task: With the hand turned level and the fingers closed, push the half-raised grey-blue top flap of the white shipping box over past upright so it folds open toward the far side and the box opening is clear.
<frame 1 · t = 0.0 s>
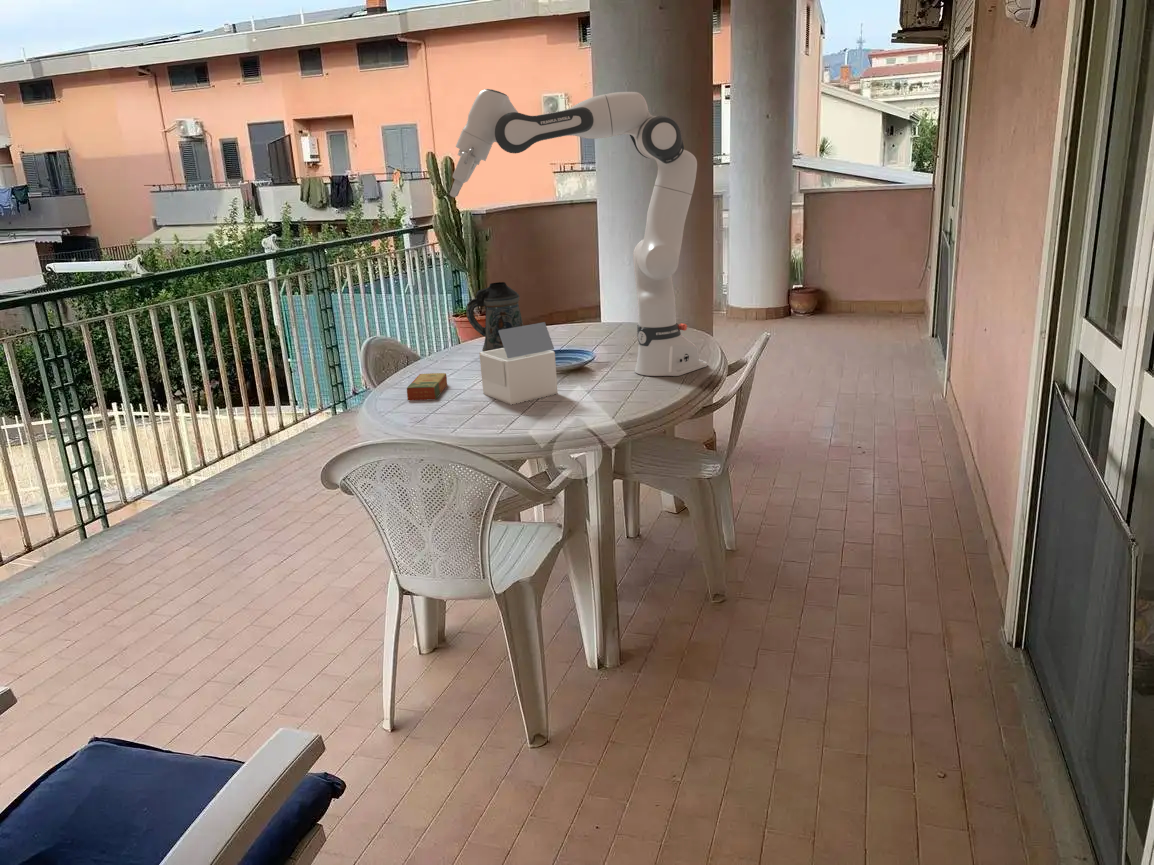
hand: (453, 196, 228), 54 cm above the table, tool tilted 30°, fingers open, 8 cm apart
flap: (526, 340, 223), point 16 cm above the table, hinge at 60.0°
shipping box: (520, 393, 233), on the table
carton: (428, 394, 241), on the table
beer stein: (503, 358, 278), on the table
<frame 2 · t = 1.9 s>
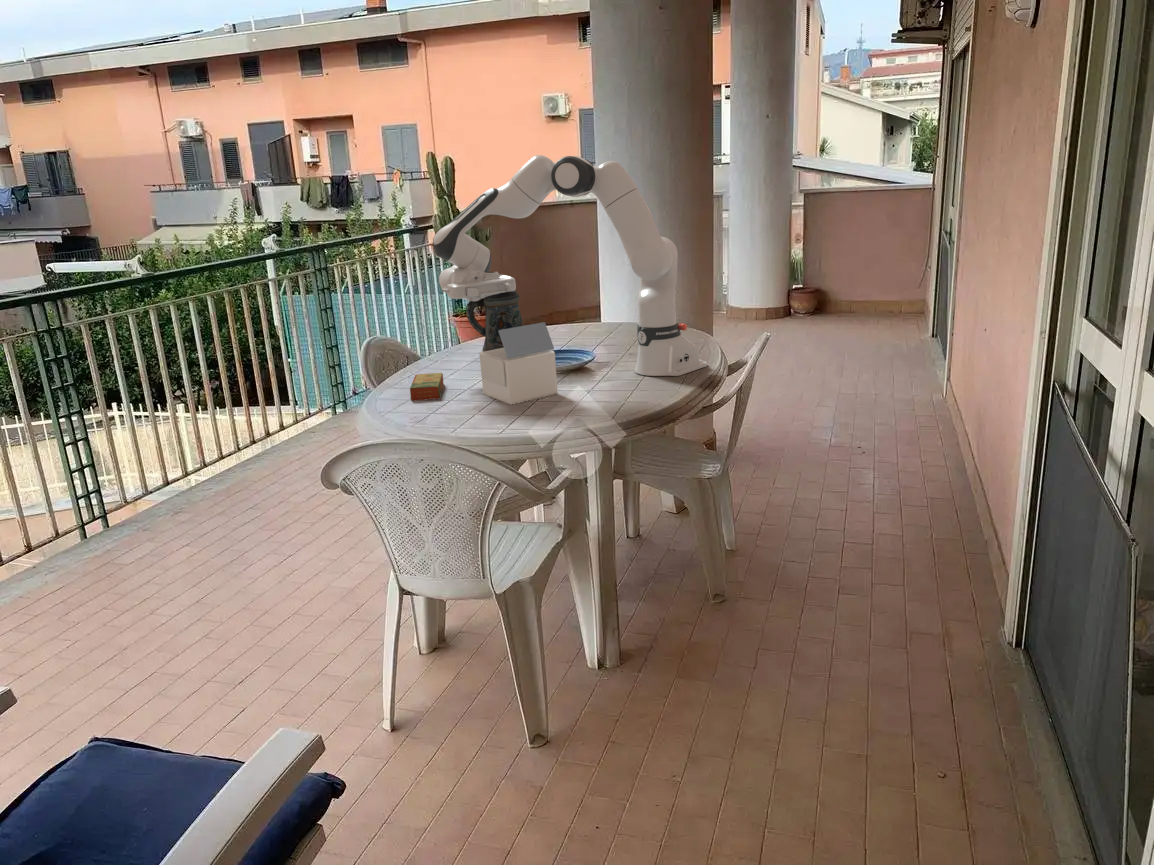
hand: (494, 290, 232), 28 cm above the table, tool horizontal, fingers open, 8 cm apart
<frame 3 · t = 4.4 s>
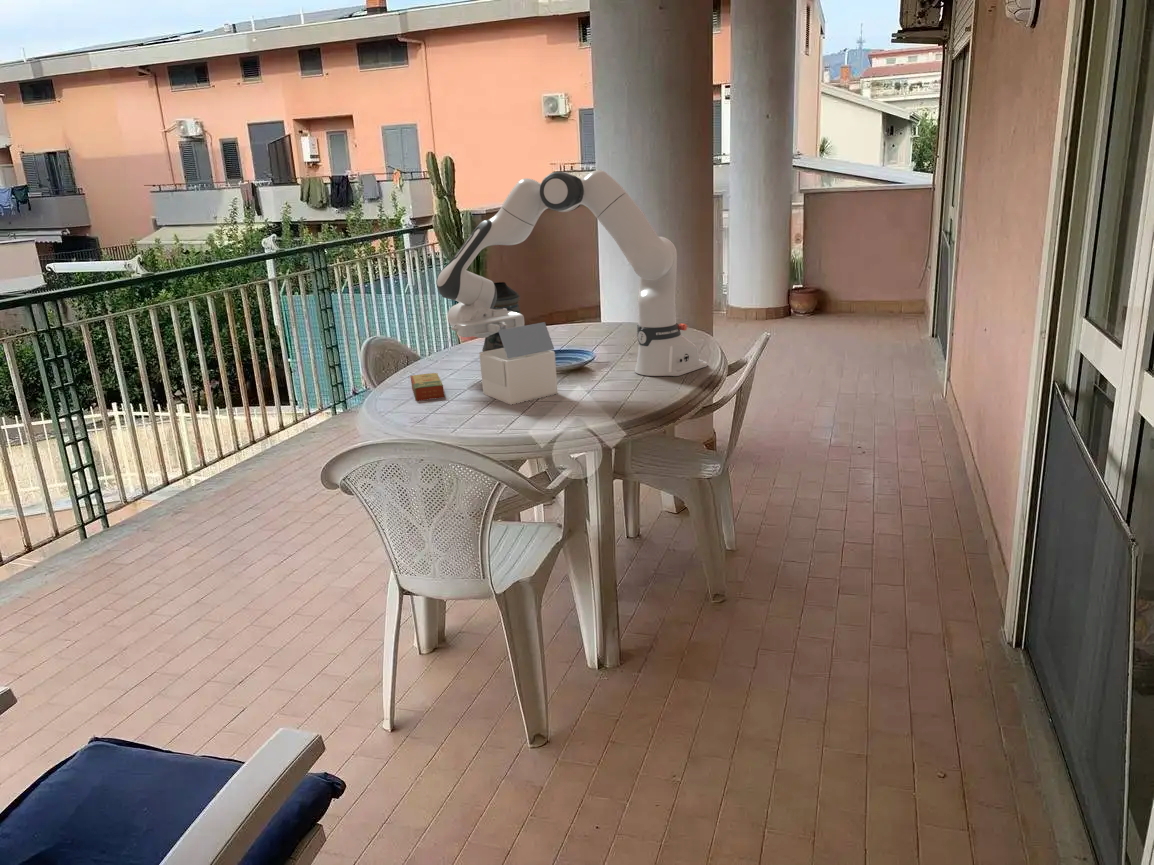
hand: (503, 328, 233), 18 cm above the table, tool horizontal, fingers closed
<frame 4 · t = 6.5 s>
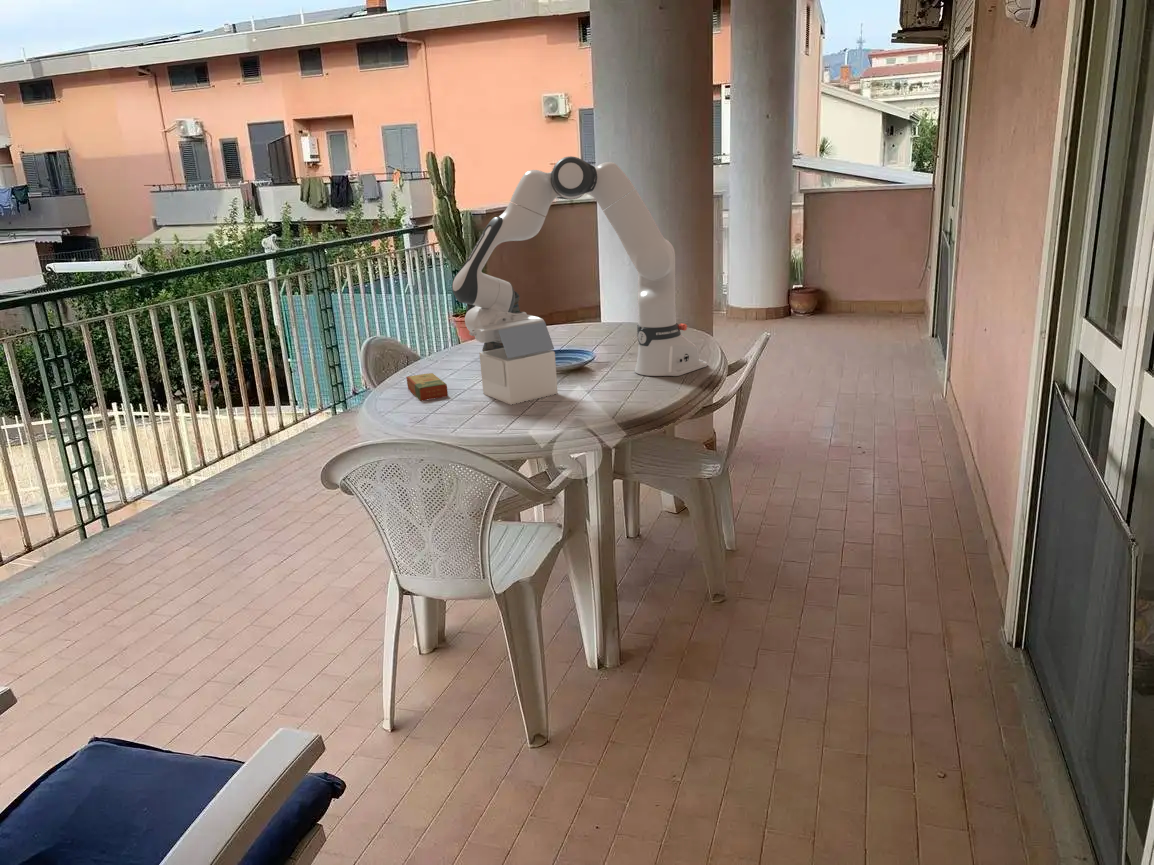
hand: (523, 333, 223), 18 cm above the table, tool horizontal, fingers closed, pressing on flap
flap: (526, 339, 223), point 16 cm above the table, hinge at 60.7°, touching gripper
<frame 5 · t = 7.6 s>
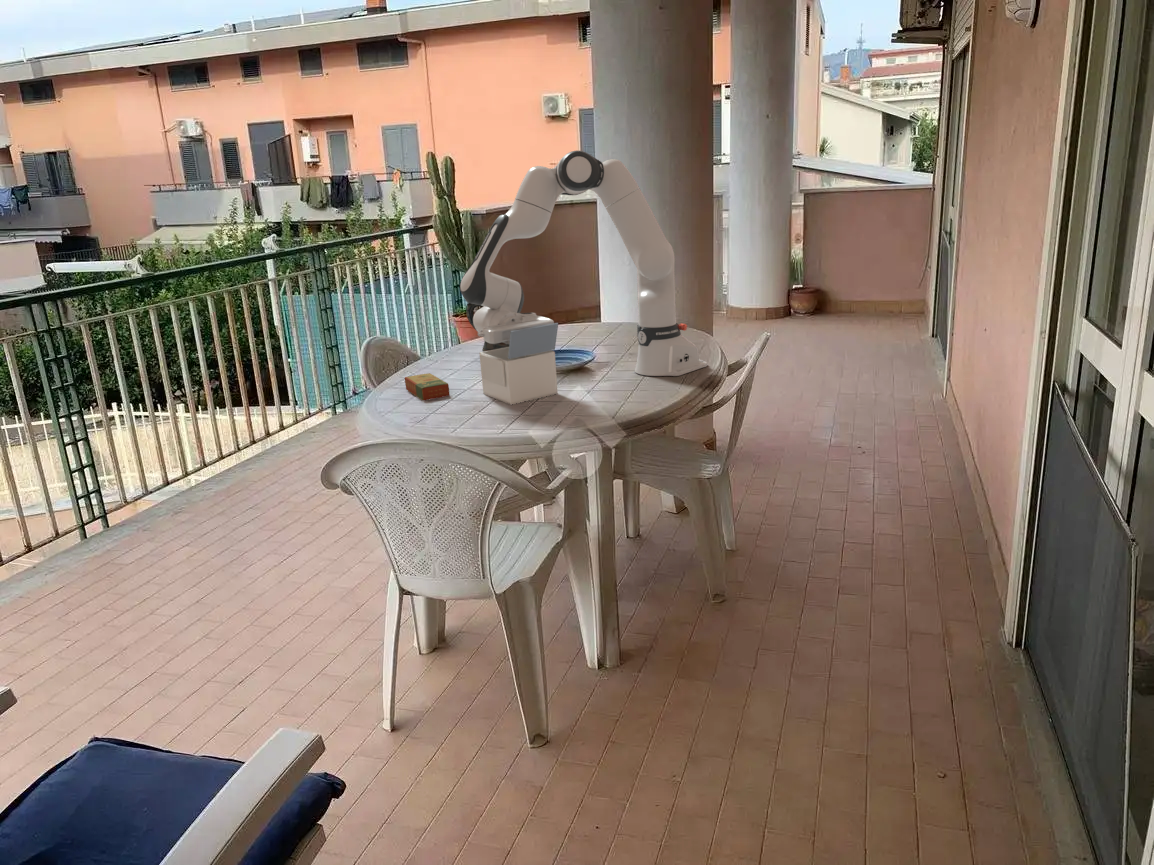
hand: (532, 334, 219), 18 cm above the table, tool horizontal, fingers closed, pressing on flap
flap: (533, 340, 220), point 17 cm above the table, hinge at 109.7°, touching gripper
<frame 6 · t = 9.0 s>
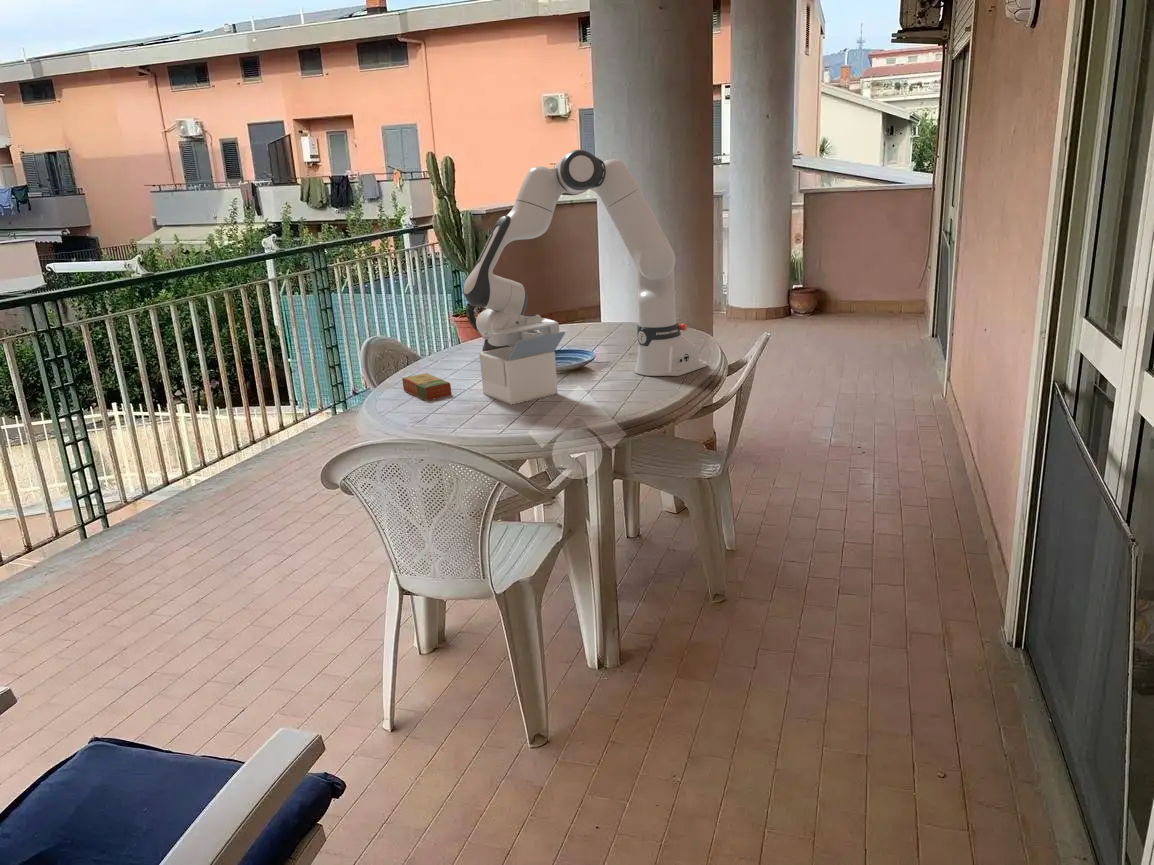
hand: (538, 337, 217), 18 cm above the table, tool horizontal, fingers closed, pressing on flap
flap: (536, 345, 219), point 16 cm above the table, hinge at 136.4°, touching gripper
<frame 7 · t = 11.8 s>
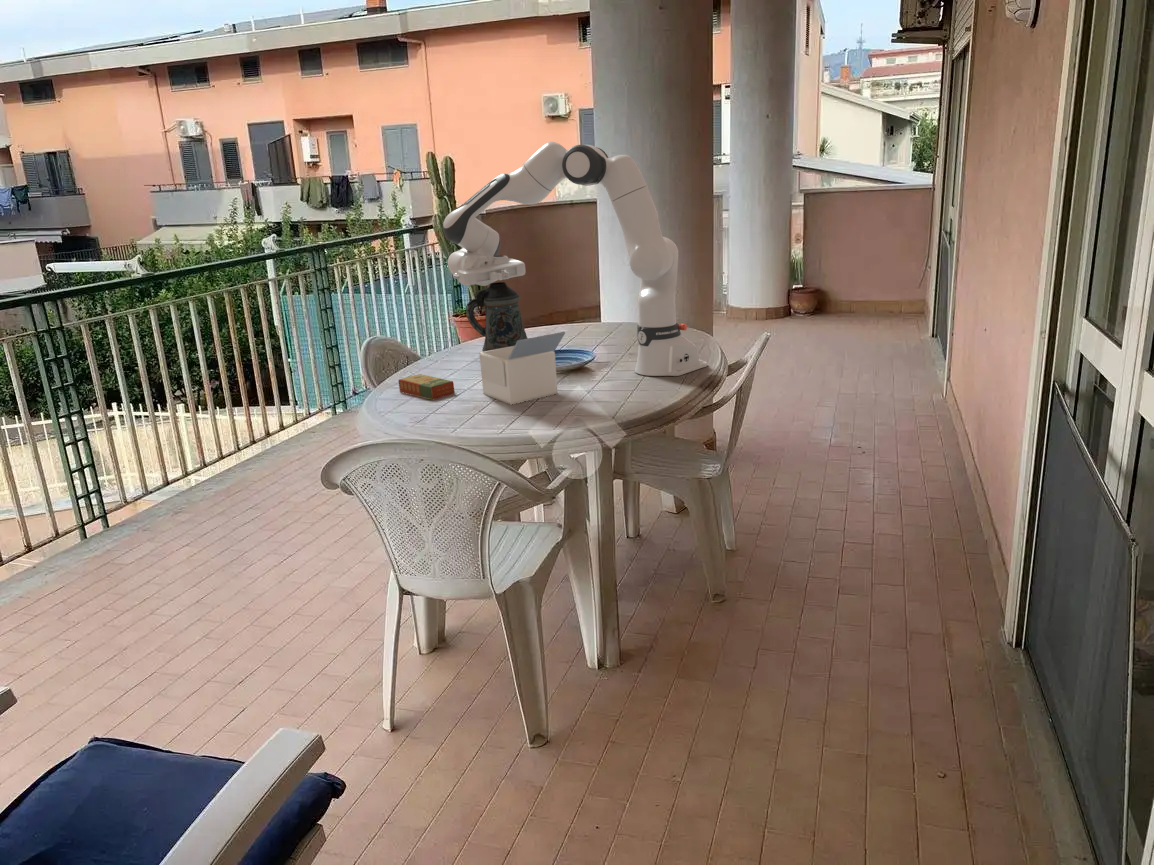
hand: (505, 276, 233), 32 cm above the table, tool horizontal, fingers closed
flap: (536, 345, 219), point 16 cm above the table, hinge at 136.5°
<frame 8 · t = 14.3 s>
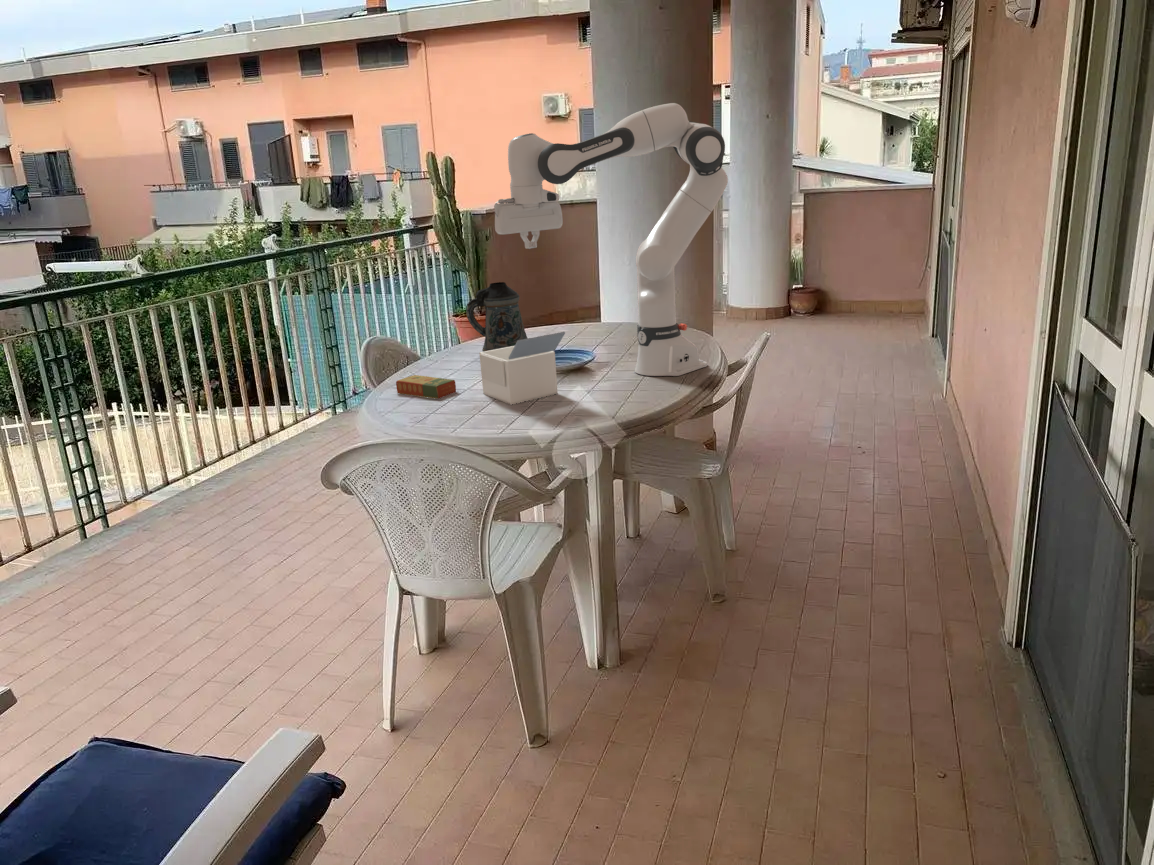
hand: (531, 248, 230), 39 cm above the table, tool pointing down, fingers closed
at the end: flap at +136° (first picture: +60°) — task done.
